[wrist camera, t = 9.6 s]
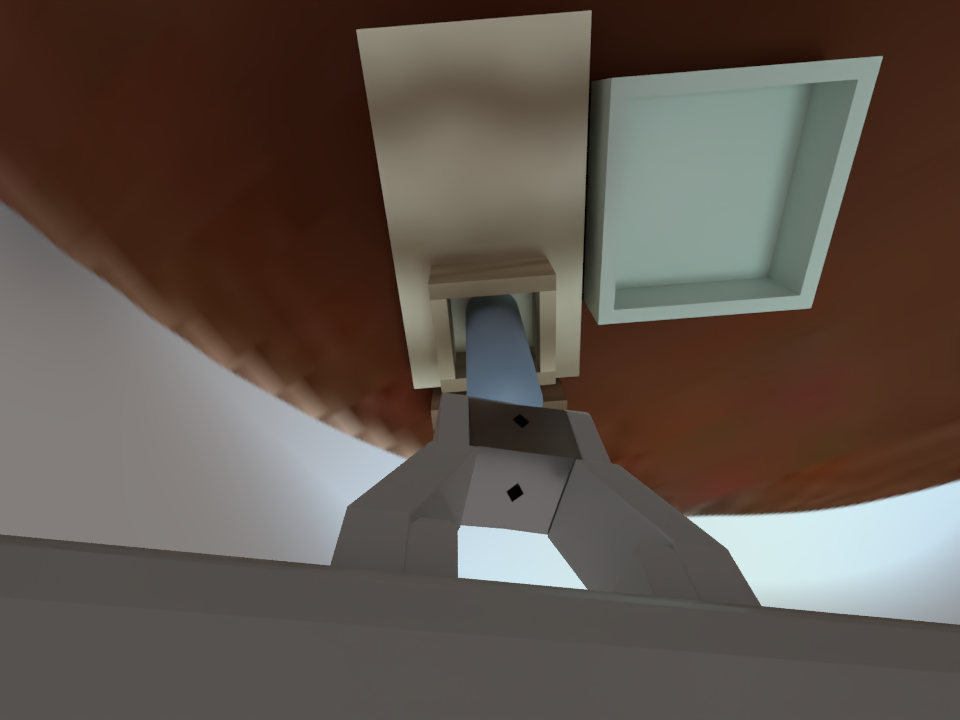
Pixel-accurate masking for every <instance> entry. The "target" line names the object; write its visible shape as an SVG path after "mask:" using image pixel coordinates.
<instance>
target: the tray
mask: <svg viewBox="0 0 960 720" xmlns="http://www.w3.org/2000/svg"><path fill="white" fill-rule="evenodd" d="M882 58H883V56H877V57H865V58H852V59H840V60H828V61H815V62H803V63H791V64H778V65H766V66H754V67H741V68H729V69H717V70H704V71H692V72H680V73H667V74H655V75H643V76H630V77H618V78H609V79H603V80H596V81H591V108H590V135H589V162H588V190H587V217H586V245H585V272H584V300H583V301H584V302H585V304H586V306H587V307H588V309H589V310H590V312H591V314H592V315H593V317H594V319H595V320H596V322H597V324H598V325H602V324H615V323H628V322H640V321H653V320H666V319H679V318H692V317H704V316H717V315H730V314H743V313H756V312H768V311H781V310H794V309H807V308H811V307H812V303H813V300H814V296H815V293H816V289H817V286H818V282H819V279H820V275H821V272H822V268H823V265H824V261H825V258H826V254H827V251H828V247H829V244H830V240H831V237H832V233H833V230H834V226H835V223H836V219H837V216H838V212H839V209H840V205H841V202H842V198H843V195H844V191H845V188H846V184H847V181H848V177H849V174H850V170H851V166H852V163H853V159H854V156H855V152H856V149H857V145H858V142H859V138H860V135H861V131H862V128H863V124H864V121H865V117H866V114H867V110H868V107H869V103H870V100H871V96H872V93H873V89H874V86H875V82H876V79H877V75H878V72H879V68H880V65H881V61H882Z"/></svg>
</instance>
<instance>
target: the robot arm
mask: <svg viewBox="0 0 960 720" xmlns="http://www.w3.org/2000/svg"><path fill="white" fill-rule="evenodd" d="M460 525H466V526H478V527H490V528H504V529H510V530H518V531H526V532H532V533H540V534H547V535H548V538H549V539H550V540H551V542H552V543H553V544H554V546H555V547H556V548H557V549H558V551H559V552H560V553H561V555H562V556H563V557H564V559H565V560H566V561H567V563H568V564H569V565H570V567H571V568H572V569H573V571H574V572H575V573H576V574H577V576H578V577H579V579H580V580H581V581H582V582H583V584H584V585H585V587H586V588H587V589H588V590H584V589H573V588H563V587H552V586H541V585H530V584H520V583H508V582H498V581H487V580H477V579H465V578H458V539H457V538H458V535H457V531H458V529H459V528H460ZM0 720H960V625H956V624H945V623H935V622H924V621H914V620H902V619H892V618H881V617H870V616H859V615H848V614H836V613H826V612H815V611H805V610H795V609H784V608H774V607H763V606H761V605H760V603H759V601H758V600H757V598H756V596H755V595H754V593H753V591H752V590H751V588H750V586H749V585H748V583H747V581H746V580H745V578H744V576H743V575H742V573H741V571H740V570H739V568H738V566H737V565H736V563H735V561H734V560H733V558H732V556H731V555H730V553H729V551H728V550H727V549H726V548H725V547H724V546H723V545H721V544H720V543H719V542H717V541H716V540H715V539H713V538H712V537H711V536H710V535H708V534H707V533H706V532H704V531H703V530H702V529H701V528H699V527H698V526H697V525H696V524H694V523H693V522H692V521H690V520H689V519H688V518H687V517H685V516H684V515H683V514H681V513H680V512H679V511H678V510H676V509H675V508H674V507H672V506H671V505H670V504H669V503H667V502H666V501H665V500H663V499H662V498H661V497H659V496H658V495H657V494H656V493H654V492H653V491H652V490H650V489H649V488H648V487H647V486H645V485H644V484H643V483H641V482H640V481H639V480H638V479H636V478H635V477H634V476H632V475H631V474H630V473H629V472H627V471H626V470H625V469H623V468H622V467H621V466H619V465H615V464H611V462H610V459H609V457H608V455H607V452H606V450H605V448H604V446H603V443H602V441H601V439H600V436H599V434H598V432H597V429H596V427H595V425H594V422H593V420H592V418H591V416H590V414H588V413H587V412H579V411H570V410H559V409H551V408H542V407H533V406H525V405H517V404H514V403H508V402H502V401H496V400H490V399H483V398H477V397H471V396H468V397H467V395H459V394H451V393H443V392H442V395H441V399H440V404H439V410H438V415H437V420H436V426H435V431H434V437H433V441H431V442H429V443H428V444H427V445H426V446H424V447H423V448H422V449H420V450H419V451H418V452H417V453H415V454H414V455H413V456H412V457H410V458H409V459H408V460H406V461H405V462H404V463H403V464H401V465H400V466H399V467H397V468H396V469H395V470H394V471H392V472H391V473H390V474H389V475H387V476H386V477H385V478H384V479H382V480H381V481H380V482H378V483H377V484H376V485H375V486H373V487H372V488H371V489H369V490H368V491H367V492H366V493H364V494H363V495H362V496H360V497H359V498H358V499H357V500H355V501H354V502H353V503H352V504H350V505H349V506H348V507H347V510H346V514H345V517H344V520H343V524H342V527H341V531H340V534H339V537H338V541H337V544H336V548H335V551H334V555H333V558H332V561H331V565H330V566H327V565H318V564H306V563H296V562H286V561H274V560H264V559H254V558H244V557H233V556H222V555H211V554H201V553H191V552H180V551H170V550H158V549H148V548H138V547H127V546H117V545H106V544H96V543H85V542H74V541H64V540H53V539H42V538H32V537H22V536H11V535H1V534H0Z"/></svg>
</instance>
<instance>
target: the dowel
mask: <svg viewBox="0 0 960 720" xmlns="http://www.w3.org/2000/svg"><path fill="white" fill-rule="evenodd" d="M466 381H467V397H468V396H471V397H477V398H483V399H490V400H496V401H502V402H508V403H514V404H517V405H525V406H533V407H542V406H543V396H542V392H541V388H540V385H539V381H538V377H537V374H536V370H535V366H534V363H533V359H532V355H531V352H530V348H529V344H528V341H527V337H526V333H525V330H524V326H523V322H522V319H521V315H520V311H519V308H518V305H517V302H516V301H515V299H514V298H513V297H512V296H511V295H510V294H504V295H491V296H479V297H472V298H471V299H470V301H469V303H468V305H467V307H466Z"/></svg>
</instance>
